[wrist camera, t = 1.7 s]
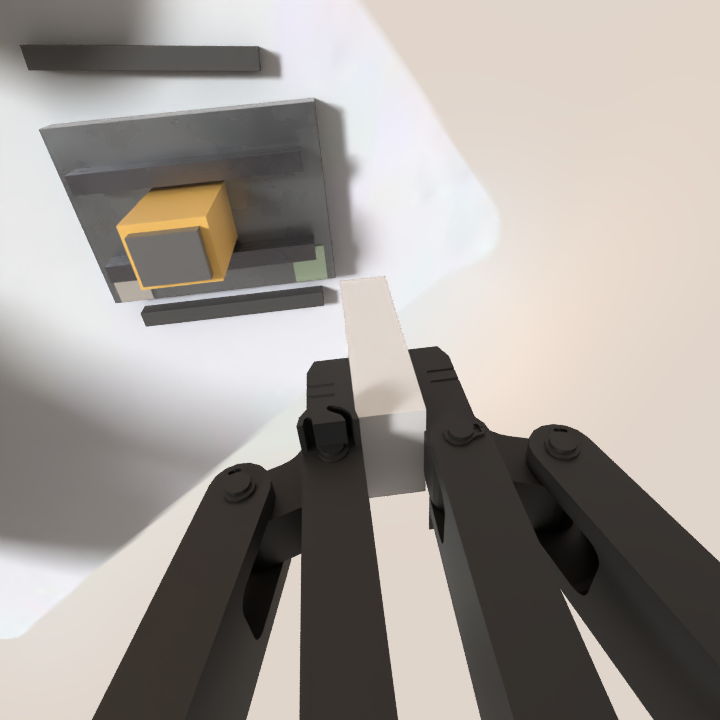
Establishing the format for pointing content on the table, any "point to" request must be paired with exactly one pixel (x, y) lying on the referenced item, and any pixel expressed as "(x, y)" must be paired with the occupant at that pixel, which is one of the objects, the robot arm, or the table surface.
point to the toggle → (180, 235)
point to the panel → (203, 165)
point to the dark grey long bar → (232, 306)
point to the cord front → (141, 58)
